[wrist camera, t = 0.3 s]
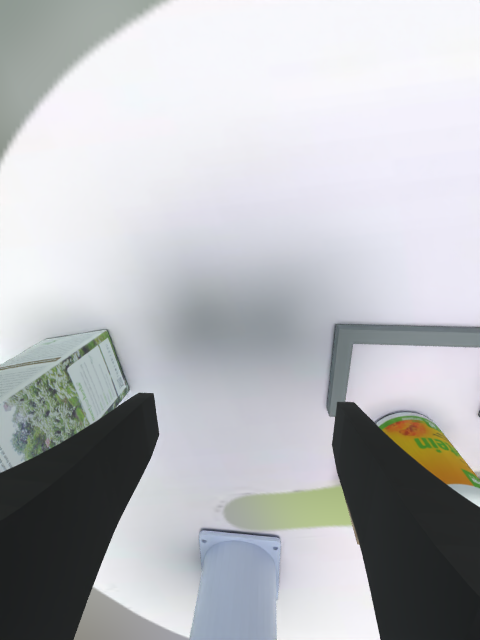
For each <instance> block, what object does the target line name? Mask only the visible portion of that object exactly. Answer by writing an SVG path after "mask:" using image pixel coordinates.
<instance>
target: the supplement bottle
mask: <svg viewBox="0 0 480 640" xmlns="http://www.w3.org/2000/svg"><path fill="white" fill-rule="evenodd" d="M376 425H377V426H378V427H379V428H380V429H381V430H382V431H383V432H384V433H386V434H387V435H388V436H389V437H390V438H391V439H392V440H393V441H394V442H395V443H396V444H397V445H399V446H400V447H401V448H402V449H403V450H404V451H405V452H407V453H408V454H409V455H410V456H411V457H413V458H414V459H415V460H416V461H417V462H418V463H420V464H421V465H422V466H423V467H425V468H426V469H427V470H428V471H430V472H431V473H432V474H434V475H435V476H436V477H438V478H439V479H440V480H442V481H443V482H444V483H446V484H447V485H448V486H450V487H451V488H452V489H454V490H455V491H457V492H458V493H459V494H461V495H462V496H464V497H465V498H467V499H468V500H470V501H471V502H473V503H474V504H476V505H477V506H479V507H480V479H479V478H478V477H477V476H476V474H475V473H474V472H473V471H472V469H471V468H470V467H469V466H468V464H467V463H466V462H465V461H464V459H463V458H462V457H461V456H460V454H459V453H458V452H457V450H456V449H455V448H454V447H453V445H452V444H451V443H450V442H449V440H448V439H447V438H446V437H445V435H444V434H443V433H442V431H441V430H440V429H439V428H438V427H437V425H436V424H435V423H434V422H433V421H431V420H430V419H429V418H427V417H425V416H423V415H420V414H417V413H411V412H401V413H395V414H392V415H389V416H387V417H384V418H383V419H381V420H379V421H378V422H377V423H376Z"/></svg>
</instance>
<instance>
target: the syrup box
mask: <svg viewBox="0 0 480 640" xmlns="http://www.w3.org/2000/svg"><path fill="white" fill-rule="evenodd" d="M128 391H129V388H128V385H127V382H126V380H125V377H124V375H123V372H122V369H121V366H120V364H119V361H118V358H117V356H116V353H115V350H114V348H113V345H112V342H111V339H110V337H109V334H108V332H107V330H100V331H94V332H88V333H82V334H76V335H70V336H64V337H58V338H52V339H45V340H43V341H41V342H39V343H37V344H36V345H34V346H32V347H30V348H29V349H27V350H25V351H24V352H22V353H20V354H19V355H17V356H15V357H13V358H12V359H10V360H8V361H6V362H4V363H3V364H1V365H0V473H1V472H3V471H6V470H8V469H10V468H12V467H14V466H16V465H19V464H21V463H23V462H25V461H27V460H29V459H31V458H33V457H35V456H37V455H39V454H41V453H43V452H45V451H47V450H49V449H50V448H52V447H54V446H56V445H58V444H60V443H61V442H63V441H65V440H66V439H68V438H70V437H71V436H73V435H75V434H76V433H78V432H79V431H81V430H83V429H84V428H86V427H88V426H89V425H91V424H92V423H94V422H96V421H97V420H99V419H100V418H102V417H103V416H104V415H106V414H107V413H109V412H110V411H112V410H113V409H115V408H116V407H117V405H118V404H119V403H120V402H121V401H122V399H123V398H124V397H125V395H126V394H127V393H128Z"/></svg>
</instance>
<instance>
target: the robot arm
mask: <svg viewBox="0 0 480 640" xmlns="http://www.w3.org/2000/svg"><path fill="white" fill-rule="evenodd" d="M158 437H159V429H158V422H157V415H156V408H155V400H154V393H138V394H136V395H134V396H133V397H131V398H130V399H128V400H127V401H125V402H124V403H122V404H121V405H119V406H118V407H116V408H115V409H113V410H112V411H110V412H109V413H107V414H106V415H104V416H103V417H102V418H100V419H99V420H97V421H96V422H94V423H92V424H91V425H89V426H88V427H86V428H84V429H83V430H81V431H79V432H78V433H76V434H75V435H73V436H71V437H70V438H68V439H66V440H65V441H63V442H61V443H60V444H58V445H56V446H54V447H52V448H50V449H49V450H47V451H45V452H43V453H41V454H39V455H37V456H35V457H33V458H31V459H29V460H27V461H25V462H23V463H21V464H19V465H16V466H14V467H12V468H10V469H8V470H6V471H3V472H1V473H0V640H73V639H74V637H75V634H76V631H77V628H78V625H79V622H80V620H81V617H82V614H83V611H84V609H85V606H86V603H87V600H88V597H89V595H90V592H91V589H92V587H93V584H94V582H95V579H96V576H97V574H98V571H99V569H100V566H101V563H102V561H103V558H104V556H105V553H106V551H107V548H108V546H109V543H110V541H111V538H112V536H113V534H114V531H115V529H116V527H117V525H118V522H119V520H120V518H121V516H122V514H123V512H124V510H125V508H126V506H127V504H128V502H129V500H130V498H131V496H132V495H133V493H134V491H135V489H136V487H137V485H138V483H139V481H140V479H141V477H142V475H143V473H144V471H145V469H146V467H147V465H148V463H149V461H150V459H151V456H152V454H153V451H154V448H155V445H156V442H157V440H158ZM332 447H333V453H334V458H335V463H336V468H337V473H338V476H339V479H340V483H341V486H342V489H343V492H344V496H345V499H346V502H347V505H348V508H349V511H350V515H351V518H352V521H353V524H354V527H355V530H356V534H357V537H358V540H359V544H360V548H361V551H362V555H363V560H364V564H365V569H366V573H367V578H368V582H369V586H370V591H371V596H372V601H373V605H374V610H375V615H376V620H377V624H378V629H379V634H380V639H381V640H480V507H479V506H477V505H476V504H474V503H473V502H471V501H470V500H468V499H467V498H465V497H464V496H462V495H461V494H459V493H458V492H457V491H455V490H454V489H452V488H451V487H450V486H448V485H447V484H446V483H444V482H443V481H442V480H440V479H439V478H438V477H436V476H435V475H434V474H432V473H431V472H430V471H428V470H427V469H426V468H425V467H423V466H422V465H421V464H420V463H418V462H417V461H416V460H415V459H414V458H413V457H411V456H410V455H409V454H408V453H407V452H405V451H404V450H403V449H402V448H401V447H400V446H399V445H397V444H396V443H395V442H394V441H393V440H392V439H391V438H390V437H389V436H388V435H387V434H386V433H384V432H383V431H382V430H381V429H380V428H379V427H378V426H377V425H376V424H375V423H374V422H373V421H372V420H371V419H370V418H369V417H368V416H367V415H366V414H365V413H364V412H363V411H362V410H361V409H360V408H359V407H358V406H357V405H356V404H355V403H354V402H337V407H336V416H335V424H334V433H333V441H332ZM199 543H200V554H201V565H202V575H201V581H200V586H199V591H198V596H197V602H196V607H195V612H194V617H193V623H192V628H191V633H190V638H189V640H277V628H276V600H277V599H278V586H279V568H280V550H281V541H280V539H279V538H277V537H267V536H257V535H247V534H236V533H226V532H215V531H205V530H204V531H201V532H200V534H199Z"/></svg>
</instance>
